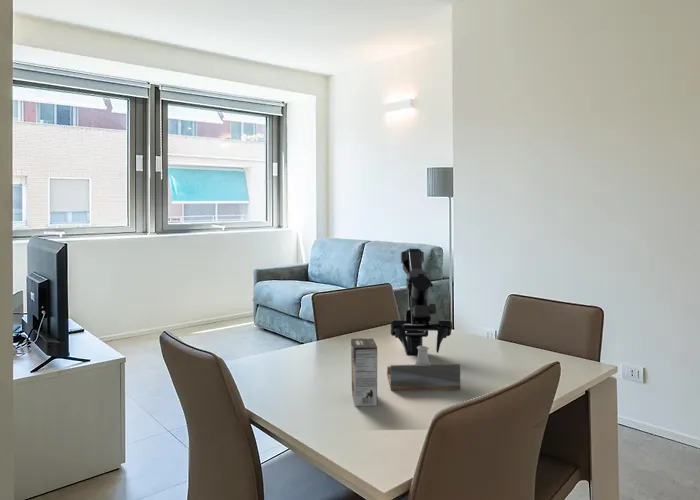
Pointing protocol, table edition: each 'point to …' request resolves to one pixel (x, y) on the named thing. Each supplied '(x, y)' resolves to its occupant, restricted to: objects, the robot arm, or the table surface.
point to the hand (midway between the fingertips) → (422, 352)
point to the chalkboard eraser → (424, 377)
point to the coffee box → (364, 372)
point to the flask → (422, 355)
